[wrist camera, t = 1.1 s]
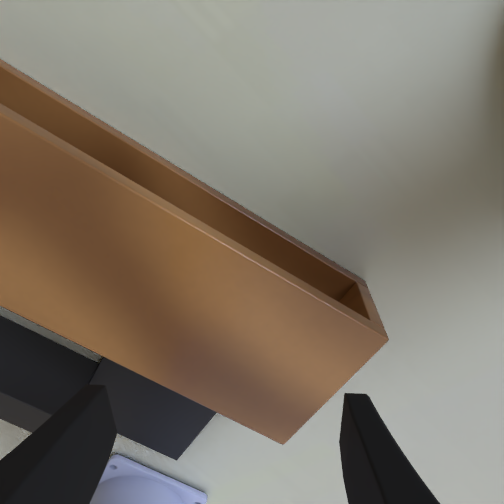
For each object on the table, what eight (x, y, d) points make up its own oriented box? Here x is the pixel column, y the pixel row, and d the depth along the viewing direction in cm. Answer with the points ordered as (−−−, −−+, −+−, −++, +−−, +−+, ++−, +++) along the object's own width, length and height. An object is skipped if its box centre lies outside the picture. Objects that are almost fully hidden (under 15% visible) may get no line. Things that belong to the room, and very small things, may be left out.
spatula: (178, 453, 27) (161, 518, 23) (-101, 324, 24) (-178, 374, 20) (227, 394, 24) (216, 456, 20) (-82, 238, 21) (-167, 276, 17)
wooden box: (282, 374, 23) (283, 446, 19) (-110, 166, 19) (-229, 194, 15) (365, 280, 20) (390, 340, 16) (-83, 7, 16) (-224, -18, 12)
